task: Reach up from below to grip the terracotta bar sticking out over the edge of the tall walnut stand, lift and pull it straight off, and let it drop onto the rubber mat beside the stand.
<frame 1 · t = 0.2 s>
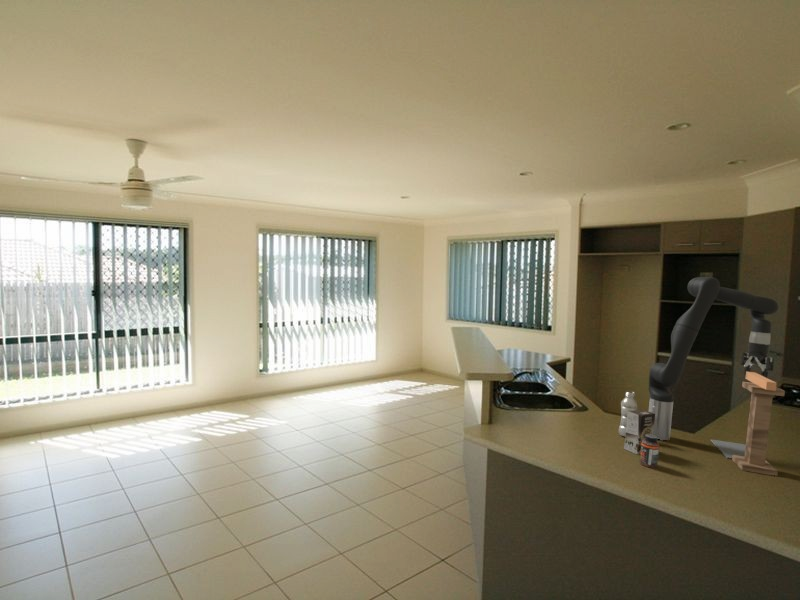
hand: (755, 377, 211), 29 cm above the counter, tool pointing down, fingers open, 8 cm apart
walnut stand: (753, 467, 179), on the counter
terracotta bar: (759, 384, 180), point 32 cm above the counter, touching walnut stand
plastic bottle: (626, 436, 206), on the counter
rubber mat: (737, 451, 195), on the counter
coffee box: (637, 451, 190), on the counter
supplement bottle: (648, 465, 175), on the counter
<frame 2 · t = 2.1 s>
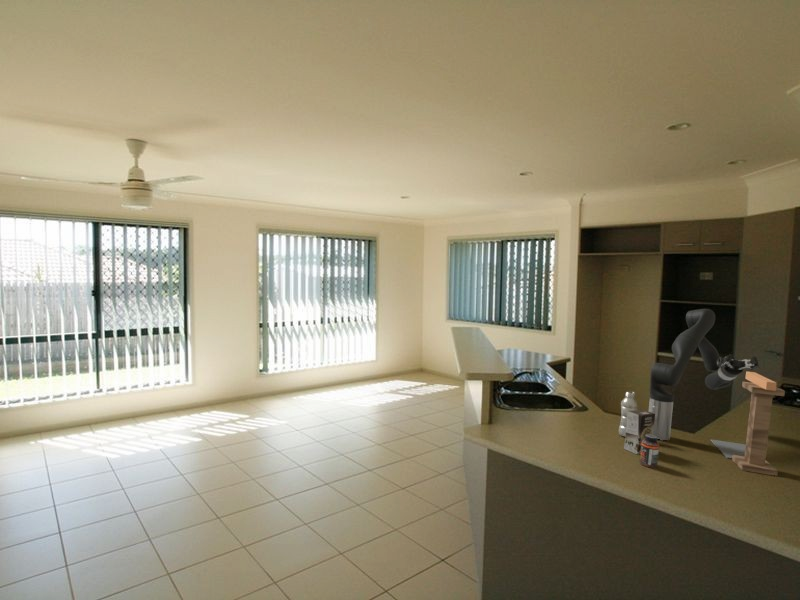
hand: (743, 357, 197), 39 cm above the counter, tool pointing upward, fingers open, 8 cm apart
nothing on the counter moved.
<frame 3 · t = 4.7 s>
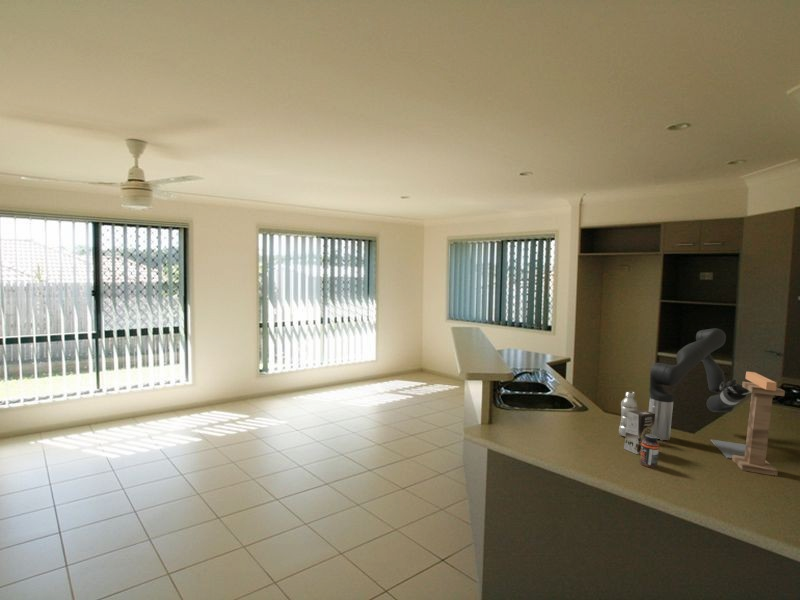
hand: (747, 383, 192), 30 cm above the counter, tool pointing upward, fingers open, 8 cm apart
nothing on the counter moved.
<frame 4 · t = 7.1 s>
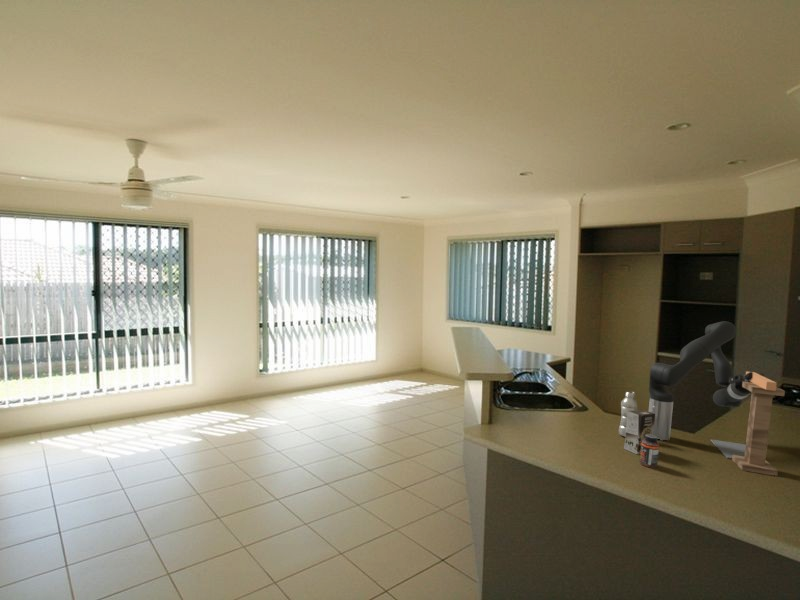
hand: (756, 375, 183), 35 cm above the counter, tool pointing upward, fingers closed on terracotta bar, 3 cm apart
terracotta bar: (759, 384, 180), point 32 cm above the counter, touching gripper, walnut stand
everything else where it was.
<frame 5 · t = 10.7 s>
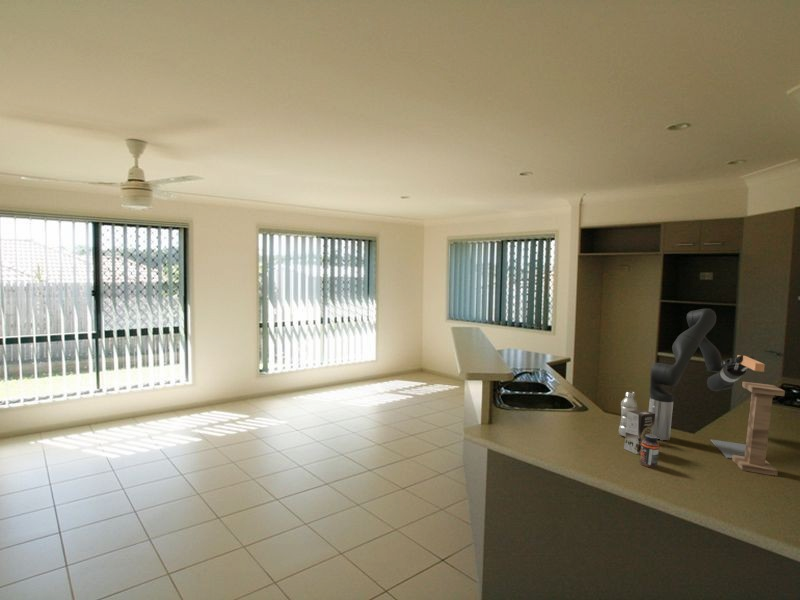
hand: (747, 358, 193), 40 cm above the counter, tool pointing upward, fingers closed on terracotta bar, 3 cm apart
terracotta bar: (749, 366, 190), point 37 cm above the counter, touching gripper
everything else where it was.
when the fingers open (26 cm above the counter, at t = 14.2 s): terracotta bar drops 22 cm, resting on rubber mat.
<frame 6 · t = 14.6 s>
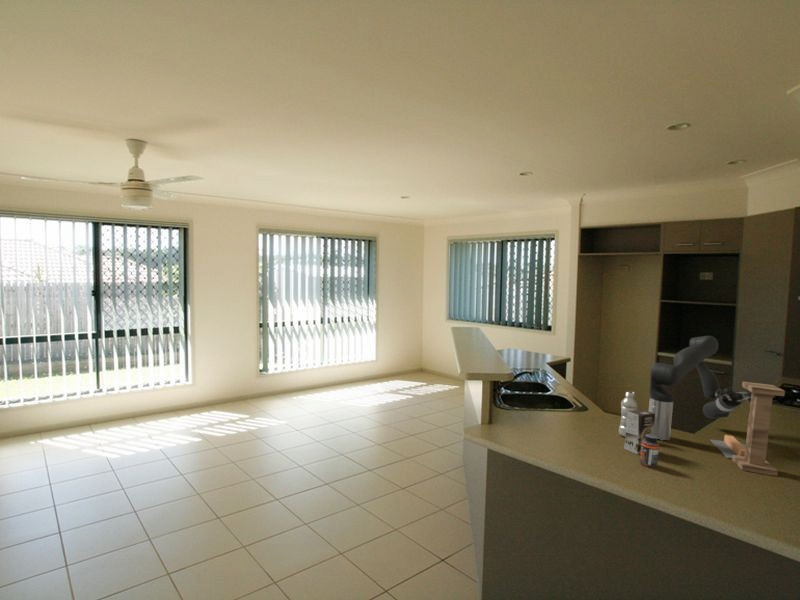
hand: (741, 390, 196), 26 cm above the counter, tool pointing upward, fingers open, 7 cm apart
terracotta bar: (735, 449, 196), resting on rubber mat
everything else where it was.
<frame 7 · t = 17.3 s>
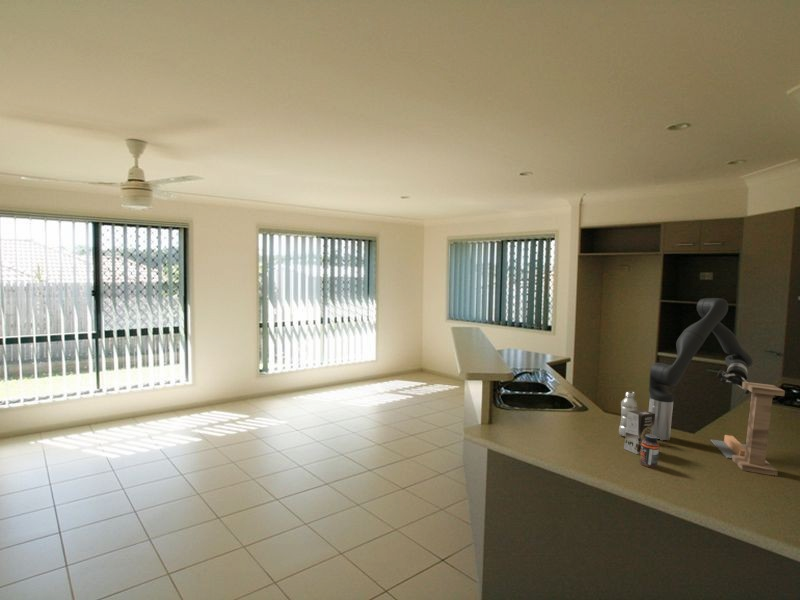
hand: (735, 387, 198), 27 cm above the counter, tool horizontal, fingers open, 8 cm apart
nothing on the counter moved.
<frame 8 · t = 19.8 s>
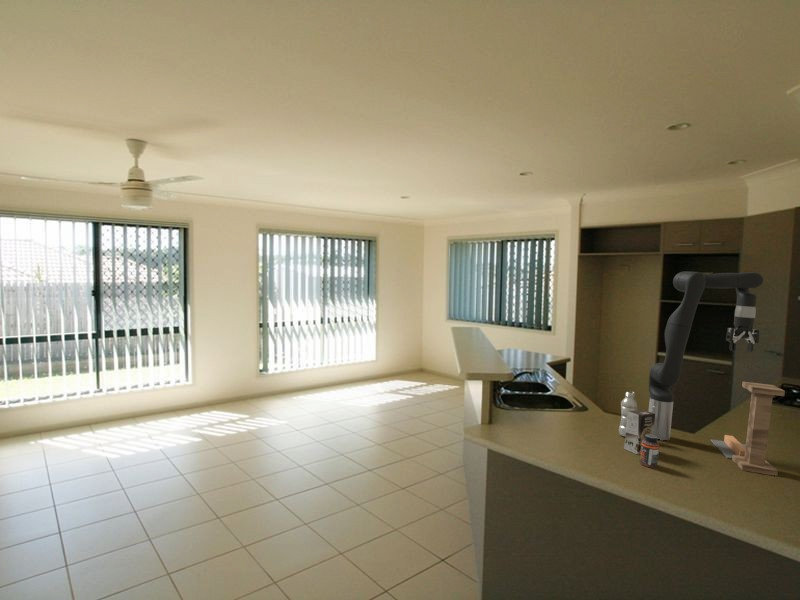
hand: (740, 351, 211), 40 cm above the counter, tool pointing down, fingers open, 8 cm apart
nothing on the counter moved.
at the end: terracotta bar inside the target area on the rubber mat (0.9 cm from its centre), point 0.5 cm above the rubber mat's base; terracotta bar touching rubber mat; the gripper is holding nothing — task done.
